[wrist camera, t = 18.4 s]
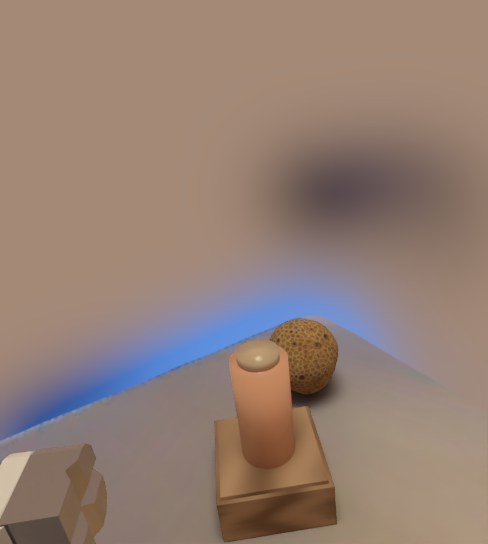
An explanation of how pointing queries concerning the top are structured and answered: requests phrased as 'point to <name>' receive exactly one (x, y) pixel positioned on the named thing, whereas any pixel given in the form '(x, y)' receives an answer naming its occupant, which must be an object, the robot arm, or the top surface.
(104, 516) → the robot arm
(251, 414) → the terracotta jar
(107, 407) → the top surface
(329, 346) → the natural sponge
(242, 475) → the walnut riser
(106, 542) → the top surface
